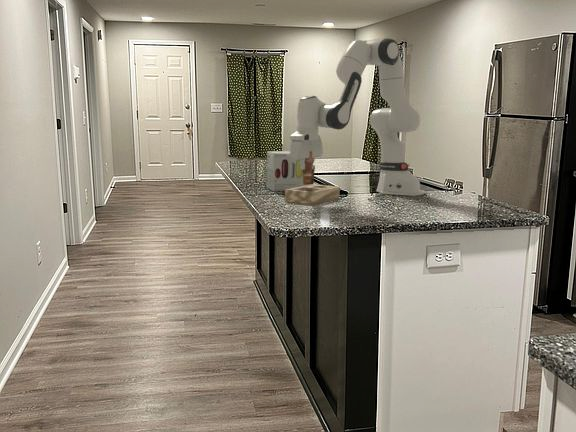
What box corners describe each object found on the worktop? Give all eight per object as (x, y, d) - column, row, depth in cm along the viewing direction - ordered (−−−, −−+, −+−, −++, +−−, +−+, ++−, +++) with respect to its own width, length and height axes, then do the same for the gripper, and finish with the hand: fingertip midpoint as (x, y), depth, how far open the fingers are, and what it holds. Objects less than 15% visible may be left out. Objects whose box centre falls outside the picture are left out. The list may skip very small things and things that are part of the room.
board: (339, 197, 258) (339, 186, 257) (313, 204, 240) (313, 192, 239) (312, 195, 266) (312, 183, 265) (285, 201, 248) (285, 189, 247)
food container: (293, 182, 309) (293, 163, 307) (304, 181, 311) (304, 163, 309) (304, 185, 298) (304, 165, 296) (314, 184, 300) (315, 165, 298)
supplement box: (272, 191, 276) (273, 153, 272) (266, 187, 288) (266, 151, 285) (307, 190, 280) (308, 152, 277) (300, 186, 293) (300, 150, 290)
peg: (313, 184, 248) (314, 151, 246) (308, 185, 245) (308, 151, 242) (305, 183, 251) (305, 150, 248) (299, 184, 247) (300, 151, 245)
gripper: (314, 134, 254) (313, 166, 257) (287, 136, 237) (287, 170, 240) (326, 135, 251) (325, 167, 253) (300, 136, 234) (300, 171, 237)
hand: (306, 168), depth 246 cm, fingers closed on peg, 4 cm apart
